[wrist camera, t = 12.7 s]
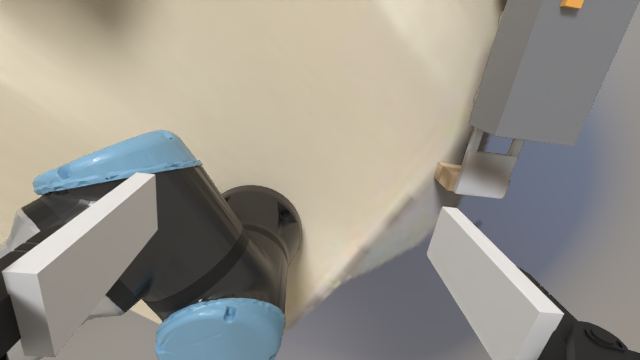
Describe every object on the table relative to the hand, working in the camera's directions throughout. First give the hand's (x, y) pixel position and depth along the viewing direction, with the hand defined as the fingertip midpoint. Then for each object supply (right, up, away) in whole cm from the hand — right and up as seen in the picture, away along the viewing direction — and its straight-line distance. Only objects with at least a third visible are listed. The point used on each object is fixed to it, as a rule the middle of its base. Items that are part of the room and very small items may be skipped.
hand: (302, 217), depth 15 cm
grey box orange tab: (+25, +18, +28) cm, 42 cm away
